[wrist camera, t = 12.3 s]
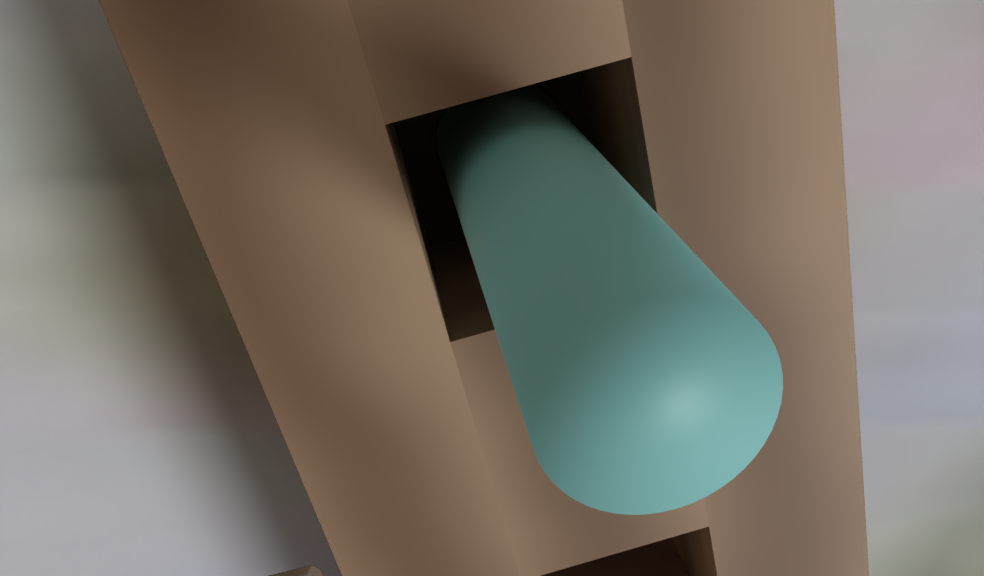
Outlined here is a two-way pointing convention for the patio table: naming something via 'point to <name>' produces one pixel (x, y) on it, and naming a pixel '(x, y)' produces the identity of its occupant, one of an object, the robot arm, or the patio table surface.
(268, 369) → the hole block
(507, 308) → the peg
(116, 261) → the patio table surface
